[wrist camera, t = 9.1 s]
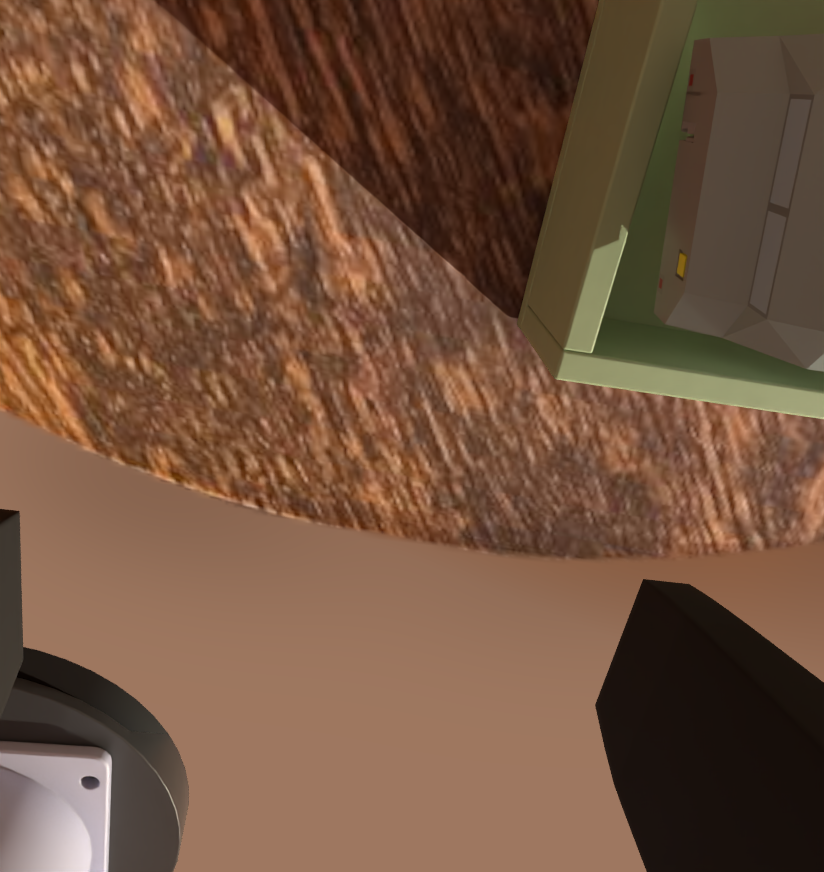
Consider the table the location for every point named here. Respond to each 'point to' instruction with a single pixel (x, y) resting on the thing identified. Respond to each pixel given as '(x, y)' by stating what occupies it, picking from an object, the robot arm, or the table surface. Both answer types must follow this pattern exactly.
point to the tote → (644, 215)
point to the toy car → (750, 199)
